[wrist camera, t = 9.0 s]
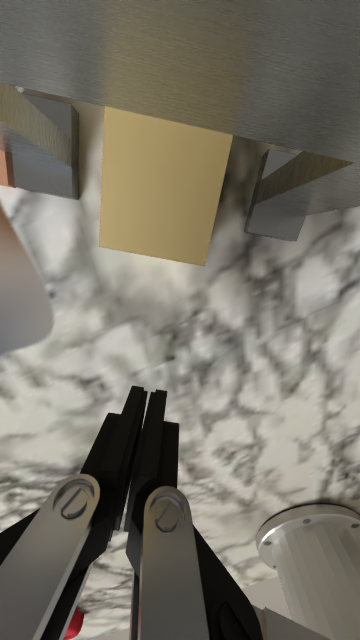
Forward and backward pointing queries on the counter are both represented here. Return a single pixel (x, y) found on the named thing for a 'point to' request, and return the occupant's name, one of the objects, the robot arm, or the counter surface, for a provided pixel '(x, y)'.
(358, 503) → the counter surface
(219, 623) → the robot arm
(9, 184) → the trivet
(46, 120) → the grey u-shaped piece
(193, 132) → the tan rectangular block
